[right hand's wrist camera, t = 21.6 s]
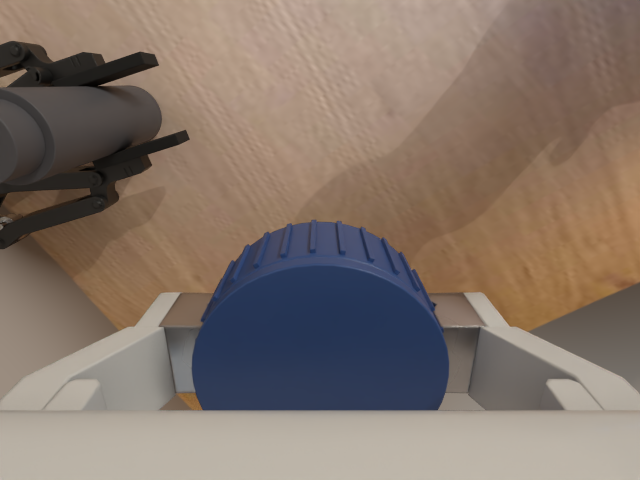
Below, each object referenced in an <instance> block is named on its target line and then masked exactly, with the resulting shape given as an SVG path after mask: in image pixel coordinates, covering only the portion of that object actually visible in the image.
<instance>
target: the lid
mask: <svg viewBox="0 0 640 480" xmlns="http://www.w3.org/2000/svg"><path fill="white" fill-rule="evenodd" d="M433 311H435V308H434V306H433V304H432V302H431V300H430V298H429V296H428V294H427V292H426V290H425V288H424V286H423V284H422V282H421V280H420V278H419V276H418V274H417V272H416V270H415V269H414V270H411V268H410V266H409V264H408V262H407V260H406V258H405V256H404V254H403V253H402V252H400V253H398V252H397V251H396V250H395V249H394V248H392V247H391V246H390V245H388V242H387V240H386V239H385V238H382V239H380V238H378V237H376V236H375V235H373V234H371V233H369V232H366V229H365V228H363V227H361V228H360V229H359V228H356V227H352V226H349V225H345V224H342V222H341V221H337V223H332V222H316V220H312V222H310V223H301V224H297V225H292V224H291V223H290V224H287V227H285V228H282V229H279V230H277V231H274V232H272V233H270V234H269V232H266V233H264V236H263V237H262V238H261V239H259V240H258V241H256V242H255V243H254V244H252V245H251V246H250V245H249V244H248V245H246V246H245V248H244V250H243V252H242V254H241V255H240V256H239V258H238V259H237V260H236V261H235V262H234V261H233V260H232V261H231V263H230V264H229V266H228V268H227V270H226V272H225V274H224V276H223V278H222V279H221V280H220V282H219V284H218V286H217V288H216V290H215V292H214V294H213V296H212V298H211V300H210V302H209V304H208V306H207V308H206V310H205V312H204V314H203V316H202V317H201V320H200V321H201V322H203V324H202V326H201V328H200V331H199V333H198V336H197V338H196V339H195V345H194V349H193V354H192V369H191V370H192V378H193V385H194V388H195V392H196V396H197V398H198V400H199V403H200V405H201V407H202V409H203V410H438V409H439V407H440V405H441V403H442V400H443V398H444V395H445V392H446V389H447V383H448V378H449V356H448V349H447V345H446V342H445V339H444V336H443V333H444V329H443V327H441V326H440V324H439V322H438V320H437V318H436V316H435V314H434V312H433Z"/></svg>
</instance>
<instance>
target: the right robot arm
mask: <svg viewBox="0 0 640 480" xmlns="http://www.w3.org/2000/svg"><path fill="white" fill-rule="evenodd" d="M213 294H214V293H182V292H168V293H160V294H159V296H158V297H157V298H156V299H155V301H154V302H153V303H152V305H151V306H150V307H149V308H148V310H147V311H146V312H145V314H144V315H143V316H142V317H141V319H140V320H139V321H138V323H137V324H136V325H135V327H127V328H125V329H122V330H120V331H118V332H116V333H114V334H112V335H110V336H108V337H106V338H104V339H102V340H100V341H97V342H95V343H93V344H91V345H89V346H87V347H85V348H83V349H81V350H79V351H77V352H75V353H72V354H70V355H68V356H66V357H64V358H62V359H60V360H58V361H56V362H54V363H52V364H49V365H48V366H45V367H43V368H41V369H39V370H37V371H35V372H33V373H31V374H29V375H27V376H24V377H23V378H22V379H21V380H20V381H19V382H18V383H17V384H16V385H15V386H14V387H12V389H10V390H9V391H8V392H7V393H6V394H5V395H4V396H3V397H2V398H1V399H0V480H640V394H639V393H638V392H637V391H636V390H635V389H634V388H633V387H632V386H631V385H630V384H629V383H628V382H627V381H626V380H625V379H624V378H623V377H621V376H618V375H616V374H614V373H612V372H610V371H608V370H606V369H604V368H602V367H600V366H597V365H595V364H593V363H591V362H589V361H587V360H585V359H583V358H581V357H579V356H576V355H574V354H572V353H570V352H568V351H566V350H564V349H562V348H560V347H557V346H555V345H553V344H551V343H549V342H547V341H545V340H543V339H541V338H539V337H537V336H534V335H532V334H530V333H528V332H526V331H524V330H522V329H520V328H518V327H510V326H509V325H508V324H507V322H506V321H505V320H504V319H503V317H502V316H501V315H500V314H499V312H498V311H497V310H496V309H495V307H494V306H493V305H492V304H491V302H490V301H489V300H488V299H487V297H486V296H485V295H484V294H483V293H481V292H470V293H427V294H428V296H429V298H430V300H431V302H432V304H433V306H434V308H435V311H433V312H434V314H435V316H436V318H437V320H438V322H439V324H440V326H441V327H443V329H444V333H443V336H444V339H445V342H446V345H447V349H448V356H449V378H448V383H447V389H446V392H445V393H469V394H468V395H469V396H470V397H471V398H472V399H474V400H475V401H476V402H477V403H478V404H479V405H480V406H482V407H483V408H484V409H485V410H159V409H160V408H162V407H163V406H164V405H165V404H166V403H167V402H168V401H170V400H171V399H172V398H173V397H174V396H175V393H196V392H195V388H194V385H193V378H192V370H191V369H192V354H193V349H194V345H195V339H196V338H197V336H198V333H199V331H200V328H201V326H202V324H203V322H201V321H200V320H201V317H202V316H203V314H204V312H205V310H206V308H207V306H208V304H209V302H210V300H211V298H212V296H213Z"/></svg>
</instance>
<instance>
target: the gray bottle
mask: <svg viewBox="0 0 640 480" xmlns="http://www.w3.org/2000/svg"><path fill="white" fill-rule="evenodd" d="M161 121H162V117H161V111H160V108H159V106H158V104H157V102H156V101H155V99H154V98H153V97H152V96H151V95H150V94H149V93H148V92H146V91H145V90H143V89H141V88H139V87H135V86H72V87H3V88H0V184H1V183H6V184H11V185H27V184H31V183H34V182H37V181H40V180H43V179H45V178H48V177H51V176H54V175H56V174H59V173H62V172H65V171H67V170H70V169H73V168H75V167H78V166H81V165H84V164H86V163H89V162H92V161H95V160H97V159H100V158H103V157H105V156H108V155H111V154H114V153H116V152H119V151H122V150H125V149H127V148H130V147H133V146H135V145H138V144H141V143H144V142H146V141H149V140H151V139H152V138H154V137H155V136H156V134H157V133H158V131H159V129H160V127H161Z"/></svg>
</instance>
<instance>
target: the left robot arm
mask: <svg viewBox="0 0 640 480" xmlns="http://www.w3.org/2000/svg"><path fill="white" fill-rule="evenodd" d="M156 66H159V64H158V62H157V59H156V57H155V54H149V53H144V52H138V53H135V54H132V55H129V56H126V57H123V58H120V59H117V60H114V61H111V62H108V63H105V61H104V59H103V57H102V55H101V54H94V53H86V52H82V53H79V54H76V55H73V56H71V57H68V58H65V59H62V60H59V61H56V62H53V61H52V60H50V59H49V57H48V56H47V53H46V51H45V49H44V48H43V47H42V46H40V45H37V44H30V43H23V42H16V41H10V42H7V43H4V44H2V45H0V77H3V76H6V75H9V74H12V73H15V72H17V71H20V70H23V69H26V70H27V71H28V72H26V73H25V74H24V75H22V76H21V77H20V78H18V79H17V80H16V81H14V82H13V83H12V84H10V85H9V86H8V87H72V86H99V85H102V84H105V83H108V82H111V81H114V80H117V79H120V78H123V77H126V76H129V75H132V74H135V73H138V72H141V71H144V70H147V69H150V68H153V67H156ZM187 140H190V139H189V137H188V134H187V132H186V130H184V131H181V132H178V133H175V134H172V135H168V136H165V137H162V138H159V139H156V140H153V141H150V142H146V143H143V144H140V145H137V146H134V147H131V148H128V149H125V150H122V151H119V152H116V153H114V154H111V155H108V156H105V157H103V158H100V159H97V160H95V161H92V162H93V164H94V166H84V167H75V168H73V169H70V170H67V171H65V172H62V173H59V174H56V175H54V176H51V177H48V178H45V179H43V180H40V181H37V182H34V183H31V184H27V185H11V184H6V183H1V184H0V207H1V205H2V203H3V201H4V199H5V197H6V195H7V193H9V192H19V191H38V190H58V189H78V188H90V192H91V195H87V196H84V197H81V198H78V199H74V200H71V201H68V202H64V203H61V204H58V205H55V206H51V207H48V208H45V209H41V210H38V211H35V212H33V213H30V214H28V215H26V216H24V217H23V216H22V215H20V214H17V215H16V214H13V213H10V214H8V215H1V214H0V249H5V248H7V247H9V246H10V245H12V244H14V243H16V242H18V241H20V240H21V239H23V238H25V237H27V236H28V235H29V234H30V233H32V232H35V231H38V230H42V229H45V228H48V227H52V226H55V225H58V224H62V223H65V222H68V221H72V220H75V219H78V218H82V217H85V216H88V215H92V214H95V213H98V212H101V211H103V210H105V209H106V208H108V207H109V206H111V205H113V204H114V203H116V202H117V201H118V200H119V195H118V193H117V192H116V191H115V182H116V181H117V180H121V179H124V178H127V177H130V176H133V175H137V174H140V173H142V172H144V171H146V170H147V169H149V168H150V167H151V166H152V164H151V162H150V159H149V157H148V155H147V154H151V153H154V152H157V151H160V150H163V149H166V148H170V147H173V146H176V145H179V144H181V143H183V142H185V141H187Z"/></svg>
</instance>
